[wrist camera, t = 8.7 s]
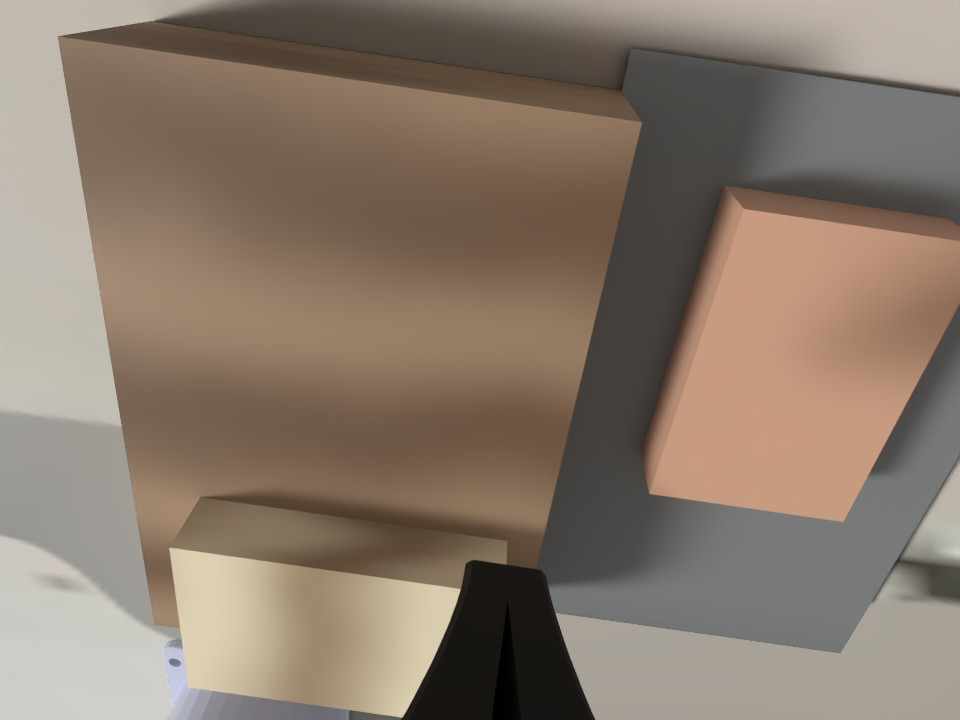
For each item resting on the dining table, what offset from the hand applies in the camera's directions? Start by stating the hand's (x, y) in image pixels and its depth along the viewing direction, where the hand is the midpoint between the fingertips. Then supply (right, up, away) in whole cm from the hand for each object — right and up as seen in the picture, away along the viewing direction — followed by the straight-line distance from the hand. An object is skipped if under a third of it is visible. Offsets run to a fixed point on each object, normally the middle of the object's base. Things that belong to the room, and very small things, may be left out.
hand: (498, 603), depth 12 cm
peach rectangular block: (+8, +4, +7) cm, 11 cm away
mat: (+8, +3, +10) cm, 13 cm away
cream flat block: (-4, -3, +9) cm, 11 cm away
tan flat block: (-4, +4, +10) cm, 11 cm away
